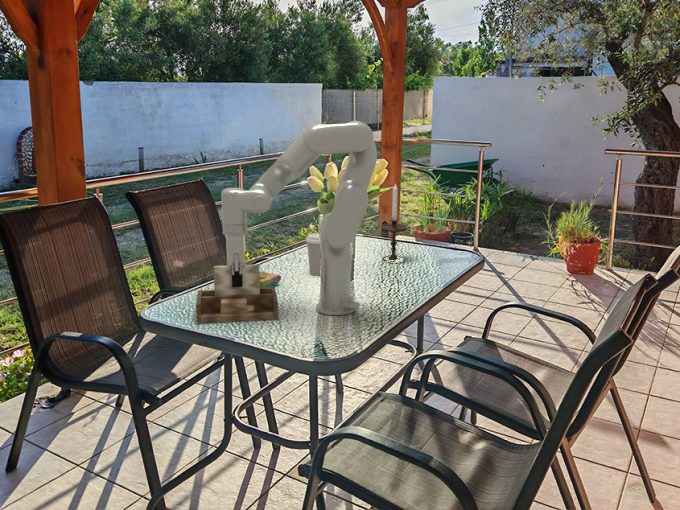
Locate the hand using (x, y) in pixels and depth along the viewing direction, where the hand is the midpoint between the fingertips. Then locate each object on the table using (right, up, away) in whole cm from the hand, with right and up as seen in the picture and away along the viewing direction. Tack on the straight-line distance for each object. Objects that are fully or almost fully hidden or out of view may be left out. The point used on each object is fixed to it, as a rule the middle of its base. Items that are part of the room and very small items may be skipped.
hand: (237, 285), depth 204 cm
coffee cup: (+24, +2, +46) cm, 52 cm away
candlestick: (+54, +7, +65) cm, 85 cm away
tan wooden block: (+1, -9, -4) cm, 10 cm away
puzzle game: (0, -3, +26) cm, 27 cm away
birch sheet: (0, -7, +2) cm, 8 cm away
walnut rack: (+1, -10, -2) cm, 10 cm away
